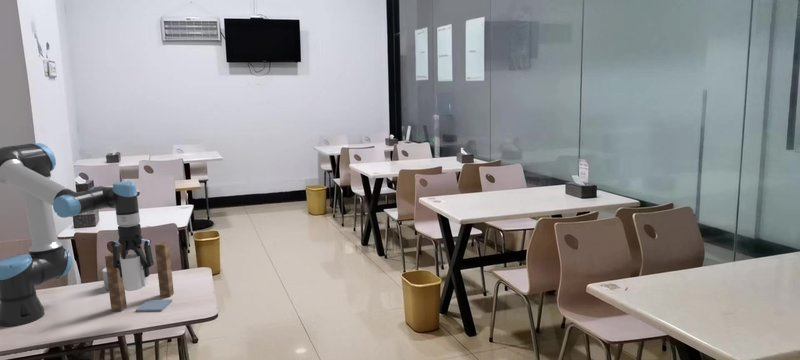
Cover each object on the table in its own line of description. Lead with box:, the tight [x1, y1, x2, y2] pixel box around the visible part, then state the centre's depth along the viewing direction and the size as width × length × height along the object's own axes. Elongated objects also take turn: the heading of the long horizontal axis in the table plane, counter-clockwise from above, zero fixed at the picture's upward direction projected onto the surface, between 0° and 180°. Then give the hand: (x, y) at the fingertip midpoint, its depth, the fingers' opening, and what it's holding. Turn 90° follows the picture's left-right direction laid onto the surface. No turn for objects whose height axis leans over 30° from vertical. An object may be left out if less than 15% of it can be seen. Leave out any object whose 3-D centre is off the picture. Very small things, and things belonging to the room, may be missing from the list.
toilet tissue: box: [102, 267, 109, 292], centre depth 252 cm, size 9×13×9 cm
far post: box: [154, 241, 175, 298], centre depth 238 cm, size 4×4×22 cm
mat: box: [135, 299, 173, 313], centre depth 228 cm, size 10×10×1 cm
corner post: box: [104, 252, 128, 312], centre depth 225 cm, size 4×4×22 cm
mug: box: [120, 253, 143, 292], centre depth 213 cm, size 10×7×12 cm, turn 165°
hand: (136, 285), depth 214 cm, fingers closed on mug, 6 cm apart
